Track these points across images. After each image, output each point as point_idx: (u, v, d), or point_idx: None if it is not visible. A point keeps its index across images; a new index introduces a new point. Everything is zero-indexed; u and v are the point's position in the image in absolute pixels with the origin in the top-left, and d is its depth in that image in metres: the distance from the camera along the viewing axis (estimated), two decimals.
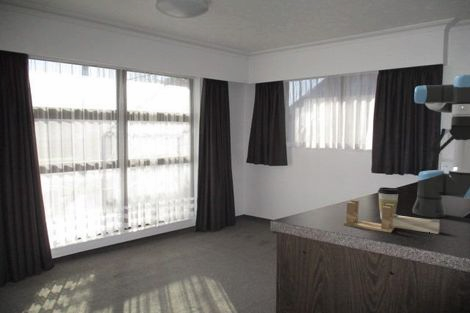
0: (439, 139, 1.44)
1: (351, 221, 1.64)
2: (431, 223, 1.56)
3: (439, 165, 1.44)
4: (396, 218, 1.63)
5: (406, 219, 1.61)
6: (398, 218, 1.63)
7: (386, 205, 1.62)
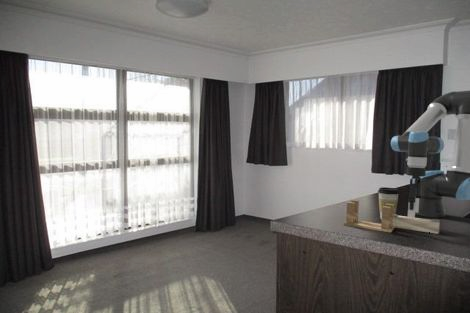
0: None
1: (351, 221, 1.64)
2: (431, 223, 1.56)
3: None
4: (396, 218, 1.63)
5: (406, 219, 1.61)
6: (398, 218, 1.63)
7: (386, 205, 1.62)
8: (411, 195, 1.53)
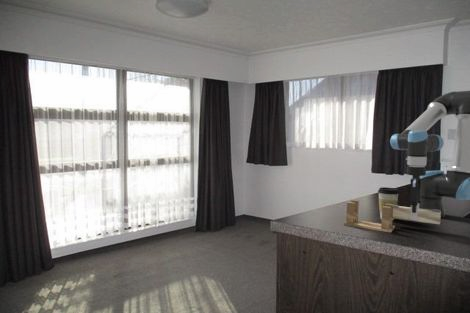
0: None
1: (351, 221, 1.64)
2: (432, 213, 1.56)
3: None
4: (397, 209, 1.63)
5: (407, 210, 1.61)
6: (399, 209, 1.63)
7: (386, 205, 1.62)
8: (413, 199, 1.56)
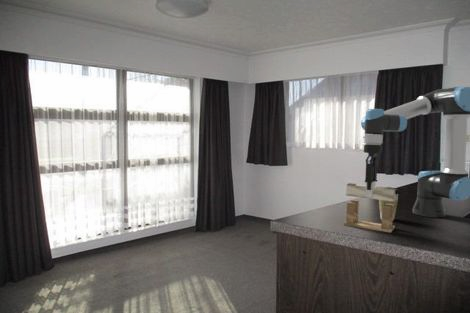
0: None
1: (351, 221, 1.64)
2: (386, 190, 1.57)
3: None
4: (354, 186, 1.65)
5: (363, 187, 1.62)
6: (356, 186, 1.64)
7: (386, 205, 1.62)
8: (367, 176, 1.58)
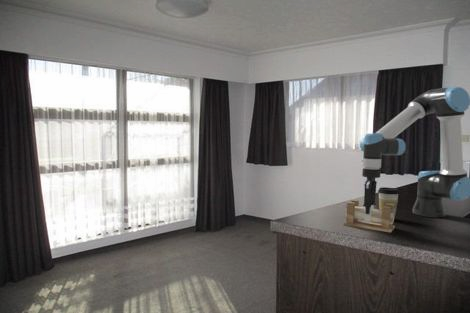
0: None
1: (351, 221, 1.64)
2: None
3: None
4: None
5: (362, 210, 1.63)
6: (354, 209, 1.65)
7: (386, 205, 1.62)
8: (366, 200, 1.58)
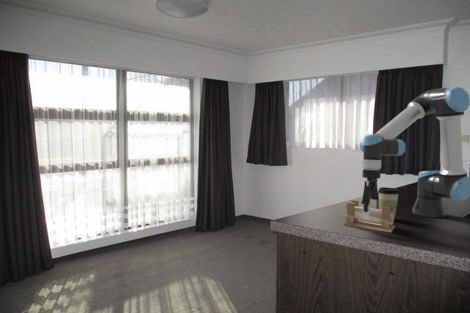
0: None
1: (351, 221, 1.64)
2: None
3: None
4: None
5: (362, 210, 1.63)
6: (354, 209, 1.65)
7: (386, 205, 1.62)
8: (365, 197, 1.55)
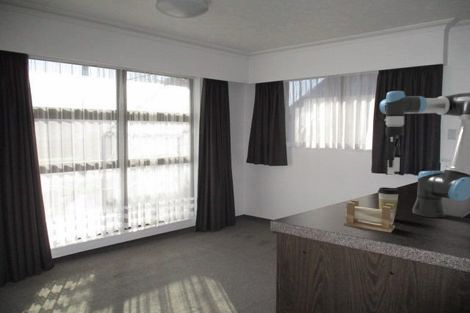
0: None
1: (351, 221, 1.64)
2: None
3: None
4: None
5: (362, 210, 1.63)
6: (354, 209, 1.65)
7: (386, 205, 1.62)
8: (389, 153, 1.57)
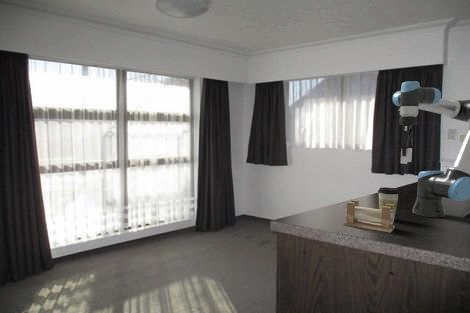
0: None
1: (351, 221, 1.64)
2: None
3: None
4: None
5: (362, 210, 1.63)
6: (354, 209, 1.65)
7: (386, 205, 1.62)
8: (403, 141, 1.59)
